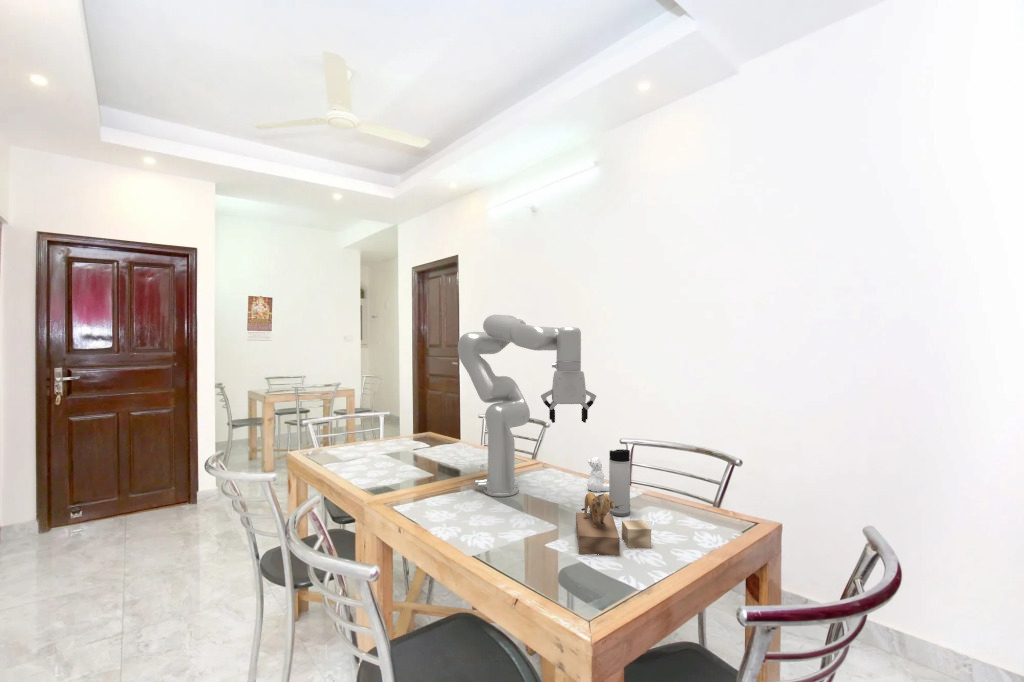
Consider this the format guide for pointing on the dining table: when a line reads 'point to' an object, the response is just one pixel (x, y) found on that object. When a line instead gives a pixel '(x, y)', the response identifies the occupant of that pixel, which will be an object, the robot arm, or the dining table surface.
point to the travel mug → (619, 482)
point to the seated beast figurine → (596, 476)
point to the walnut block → (597, 535)
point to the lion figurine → (598, 507)
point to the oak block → (636, 534)
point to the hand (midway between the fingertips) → (568, 421)
